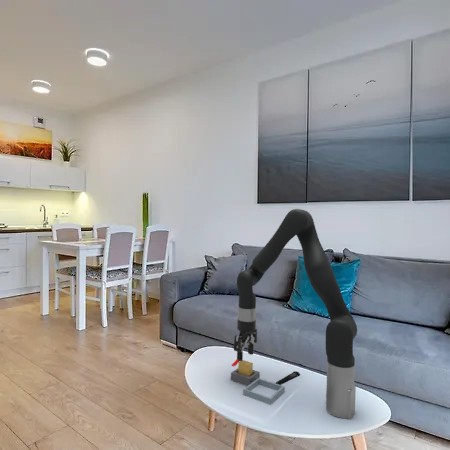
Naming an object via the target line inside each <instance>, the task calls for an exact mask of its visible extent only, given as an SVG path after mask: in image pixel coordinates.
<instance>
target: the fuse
mask: <svg viewBox="0 0 450 450" xmlns="http://www.w3.org/2000/svg"><path fill="white" fill-rule="evenodd" d="M237 366H238V367H237V369H238V373H240V374H243V375H246V376H249V377H250V376H251V375H252V372H253V370H254V367H253V366H254V365H253V362H250V361H248V360H244V359H243V360H242V361H239V362H238V363H237Z"/></svg>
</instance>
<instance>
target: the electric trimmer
mask: <svg viewBox="0 0 450 450" xmlns="http://www.w3.org/2000/svg"><path fill="white" fill-rule="evenodd" d="M300 376H301V373H300V372H299V371H297V370H296V371H294V370H293V372H291V373H289V374H287V375H286V376H284V377H283V378H281V379H279V380H277V381H276V382H275V384H279V385H283V384H286V383H288V382H290V381H292V380H293V379H296V378H298V377H300Z"/></svg>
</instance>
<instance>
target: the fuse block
mask: <svg viewBox="0 0 450 450" xmlns="http://www.w3.org/2000/svg"><path fill="white" fill-rule="evenodd" d="M260 374H261V372H260V371H258V370H255V369H253V372H252V375H251V376H250V377H249V376H246V375H243V374H240V373H238V368H236V369H234V370H233V371H231V372H230V381H231V382H232V381H233V382H234V383H238V384H241V385H244V386H246V387H247V386H248V385H250V384H251V383H252V382H254V381H255V380H256V379H258V378H260V376H261V375H260ZM260 379H261V378H260Z"/></svg>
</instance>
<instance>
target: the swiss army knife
mask: <svg viewBox="0 0 450 450" xmlns="http://www.w3.org/2000/svg"><path fill="white" fill-rule="evenodd" d="M239 362H240V361H238V360H237V359H236V360H234V362H233V363H232V364H231V367H236V366H238V364H239Z"/></svg>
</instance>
